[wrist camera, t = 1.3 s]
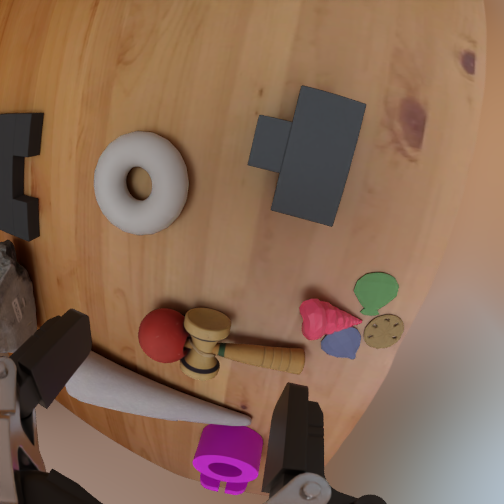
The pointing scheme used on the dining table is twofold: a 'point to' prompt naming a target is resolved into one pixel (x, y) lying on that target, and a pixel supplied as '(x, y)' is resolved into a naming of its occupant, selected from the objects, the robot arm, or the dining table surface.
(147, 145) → the donut
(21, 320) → the decorative rock
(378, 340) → the toy pieces
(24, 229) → the black pad
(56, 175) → the dining table surface
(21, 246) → the dining table surface
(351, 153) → the grey pad
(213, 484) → the tape dispenser
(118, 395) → the grey hollow cone
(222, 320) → the kendama
